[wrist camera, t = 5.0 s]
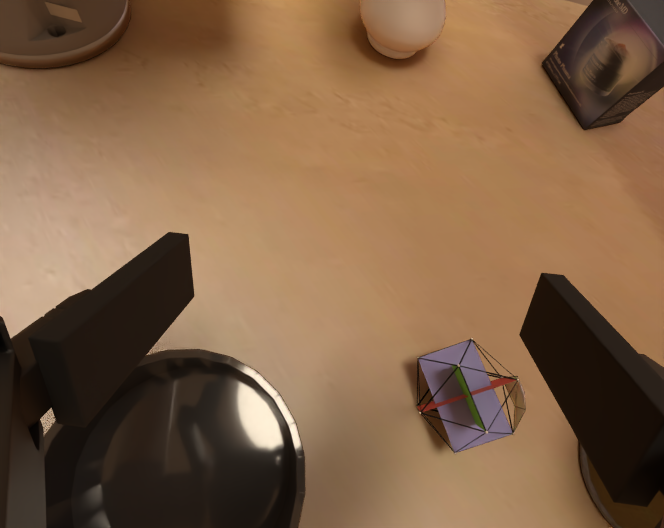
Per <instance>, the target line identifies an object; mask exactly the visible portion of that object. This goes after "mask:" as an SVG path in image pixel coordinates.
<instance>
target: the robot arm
mask: <svg viewBox="0 0 664 528" xmlns="http://www.w3.org/2000/svg"><path fill="white" fill-rule="evenodd" d="M130 15H131V8H130V2H129V0H0V63H3V64H7V65H12V66H17V67H26V68H51V67H60V66H66V65H71V64H75V63H79V62H82V61H85V60H88V59H90V58H92V57H95V56H97V55H99V54H101V53H102V52H104V51H106V50H107V49H108V48H110V47H111V46H112V45H114V44H115V43H116V42H117V41H118V40H119V39H120V38H121V36H122V35H123V34H124V32H125V30H126V29H127V26H128V24H129V21H130ZM193 297H194V287H193V277H192V267H191V257H190V247H189V237H188V234H182V233H172V232H168V233H167V234H166V235H164V236H163V237H162V238H160V239H159V240H158V241H156V242H155V243H154V244H152V245H151V246H150V247H148V248H147V249H145V250H144V251H143V252H141V253H140V254H139V255H137V256H136V257H135V258H133V259H132V260H131V261H129V262H128V263H127V264H125V265H124V266H123V267H121V268H120V269H119V270H117V271H116V272H115V273H113V274H112V275H111V276H109V277H108V278H107V279H105V280H104V281H103V282H101V283H100V284H99V285H97V286H96V287H95V288H93V289H92V290H90V289H87V290H84V291H82V292H80V293H77V294H75V295H73V296H70V297H68V298H67V299H66V300H64V301H63V302H61V303H60V304H59V305H57V306H56V308H55V309H54V308H53V309H52V310H50V311H49V312H48V313H46V314H45V316H44V317H41V318H39V319H38V320H36V321H35V322H34V323H32V324H31V325H29V326H28V327H27V328H25V329H24V330H22V331H21V332H20V333H18V334H17V335H15V336H14V337H13V338H11V339H10V336H9V334H8V331H7V328H6V325H5V323H4V320H3V318H2V317H1V316H0V528H46V497H45V465H44V434H43V426H42V423H41V421H40V418H41V417H42V416H43V415H44V414H45V413H46V412H47V411H48V410H49V409H50V408H51V407H52V410H53V413H54V416H55V419H56V421H57V424H62V425H69V426H76V427H83V428H86V427H87V426H88V424H89V423H90V422H91V421H92V419H93V418H94V417H95V416H96V415H97V413H98V412H99V411H100V410H101V409H102V407H103V406H104V405H105V404H106V403H107V401H108V400H109V399H110V398H111V397H112V395H113V394H114V393H115V392H116V390H117V389H118V388H119V387H120V386H121V384H122V383H123V382H124V381H125V380H126V378H127V377H128V376H129V375H130V374H131V372H132V371H133V370H134V369H135V368H136V366H137V365H138V364H139V363H140V361H141V360H142V359H143V358H144V357H145V355H146V354H147V353H148V352H149V351H150V349H151V348H152V347H153V346H154V345H155V343H156V342H157V341H158V340H159V339H160V337H161V336H162V335H163V334H164V332H165V331H166V330H167V329H168V328H169V326H170V325H171V324H172V323H173V322H174V320H175V319H176V318H177V317H178V316H179V314H180V313H181V312H182V311H183V310H184V308H185V307H186V306H187V305H188V303H189V302H190V301H191V300H192V299H193ZM519 335H520V337H521V339H522V340H523V342H524V344H525V346H526V348H527V349H528V351H529V353H530V355H531V356H532V358H533V360H534V362H535V364H536V365H537V367H538V369H539V371H540V372H541V374H542V376H543V378H544V380H545V381H546V383H547V385H548V387H549V388H550V390H551V392H552V394H553V396H554V397H555V399H556V401H557V403H558V404H559V406H560V408H561V410H562V412H563V413H564V415H565V417H566V419H567V420H568V422H569V424H570V426H571V428H572V429H573V431H574V433H575V435H576V436H577V438H578V440H579V442H580V444H581V445H582V447H583V449H584V451H585V452H586V454H587V456H588V458H589V460H590V461H591V463H592V465H593V467H594V468H595V470H596V472H597V474H598V475H599V477H600V479H601V481H602V483H603V484H604V486H605V488H606V490H607V491H608V493H609V495H610V497H611V499H612V500H613V502H615V503H622V504H629V505H636V506H643V507H648V505H649V504H650V502H651V501H652V500H653V498H654V497H655V495H656V494H657V493H658V491H659V490H660V492H661V493H662V495H663V496H664V367H662V366H661V365H659V364H658V363H656V362H655V361H653V360H652V359H650V358H649V357H647V356H646V355H644V354H638V353H637V352H636V351H635V350H634V349H633V347H632V346H631V345H630V344H629V343H628V342H627V341H626V340H625V339H624V338H623V337H622V336H621V335H620V334H619V333H618V332H617V331H616V330H615V329H614V328H613V327H612V326H611V324H610V323H609V322H608V321H607V320H606V319H605V318H604V317H603V316H602V315H601V314H600V313H599V312H598V311H597V310H596V309H595V308H594V307H593V306H592V305H591V304H590V303H589V301H588V300H587V299H586V298H585V297H584V296H583V295H582V294H581V293H580V292H579V291H578V290H577V289H576V288H575V287H574V286H573V285H572V284H571V283H570V282H569V281H568V280H567V278H566V277H565V276H564V275H558V274H548V273H541V275H540V278H539V281H538V284H537V287H536V290H535V292H534V295H533V298H532V301H531V304H530V306H529V309H528V312H527V315H526V318H525V320H524V323H523V326H522V329H521V332H520V334H519ZM655 528H664V516H663V517H662V518H661V520H660V521H659V522H658V524H657V525H656V526H655Z"/></svg>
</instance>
